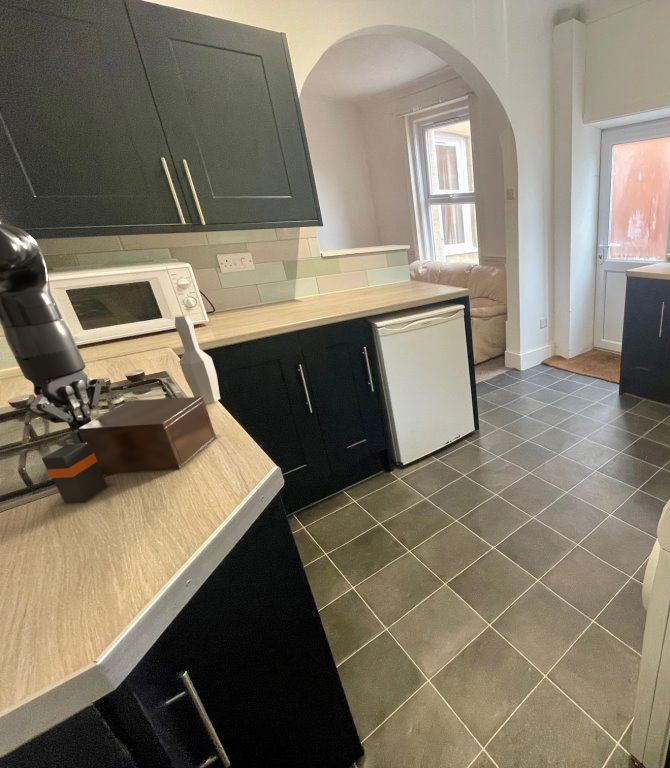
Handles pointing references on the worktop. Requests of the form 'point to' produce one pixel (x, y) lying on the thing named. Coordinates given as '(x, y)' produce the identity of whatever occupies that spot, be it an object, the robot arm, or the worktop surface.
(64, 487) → the cutter case
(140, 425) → the cabinet
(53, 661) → the worktop surface
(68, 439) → the dark green box
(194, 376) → the faceted bottle
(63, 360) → the robot arm
